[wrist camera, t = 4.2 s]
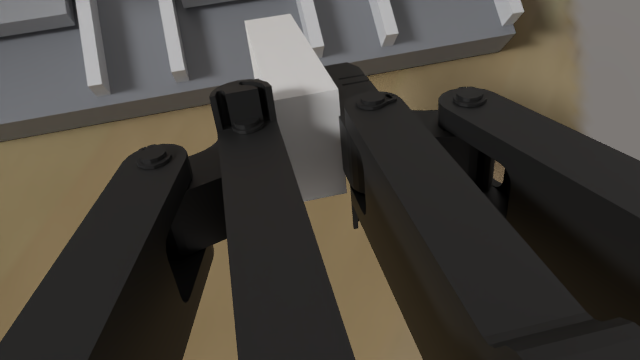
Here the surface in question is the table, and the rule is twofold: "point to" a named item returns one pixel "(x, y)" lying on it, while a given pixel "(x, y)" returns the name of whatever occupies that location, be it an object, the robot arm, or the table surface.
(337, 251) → the table surface
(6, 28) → the grey slider
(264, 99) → the robot arm
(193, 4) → the white tall block
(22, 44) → the grey slotted tray
